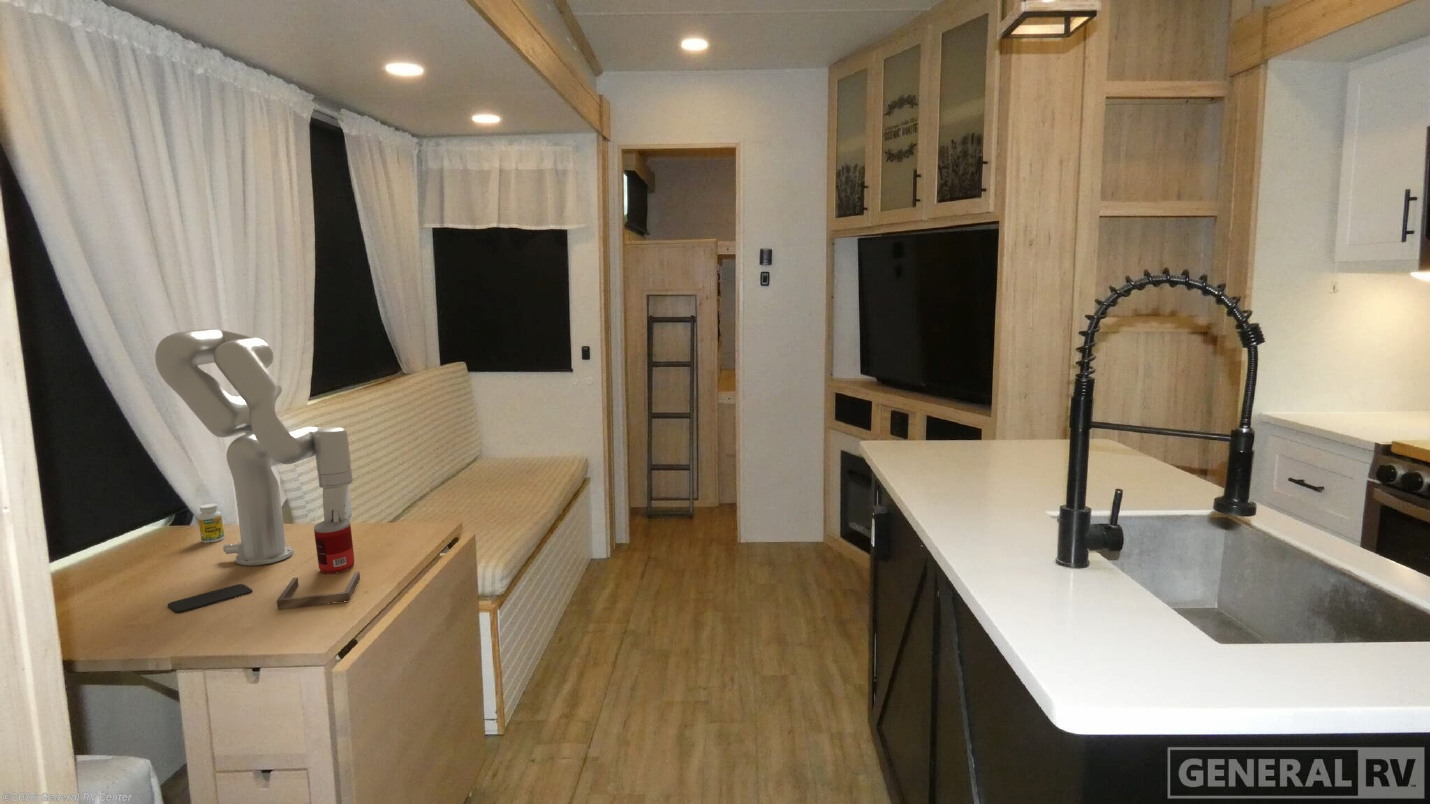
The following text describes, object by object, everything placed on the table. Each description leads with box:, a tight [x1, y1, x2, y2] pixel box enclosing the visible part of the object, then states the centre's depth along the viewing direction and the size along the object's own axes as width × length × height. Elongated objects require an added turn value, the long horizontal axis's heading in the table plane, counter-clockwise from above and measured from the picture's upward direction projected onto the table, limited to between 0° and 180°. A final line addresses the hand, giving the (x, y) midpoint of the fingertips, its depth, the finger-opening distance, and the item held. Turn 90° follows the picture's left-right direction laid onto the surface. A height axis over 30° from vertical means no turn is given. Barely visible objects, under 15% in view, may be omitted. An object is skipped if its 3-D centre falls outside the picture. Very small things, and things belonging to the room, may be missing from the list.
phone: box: [167, 583, 253, 614], centre depth 179 cm, size 7×1×15 cm
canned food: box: [313, 519, 355, 574], centre depth 195 cm, size 8×8×11 cm
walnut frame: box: [276, 571, 361, 611], centre depth 180 cm, size 14×14×2 cm
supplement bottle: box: [197, 503, 225, 544], centre depth 219 cm, size 5×5×10 cm
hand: (343, 550), depth 202 cm, fingers closed
